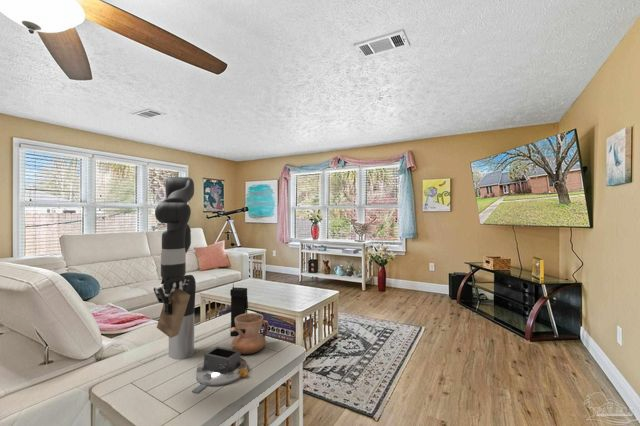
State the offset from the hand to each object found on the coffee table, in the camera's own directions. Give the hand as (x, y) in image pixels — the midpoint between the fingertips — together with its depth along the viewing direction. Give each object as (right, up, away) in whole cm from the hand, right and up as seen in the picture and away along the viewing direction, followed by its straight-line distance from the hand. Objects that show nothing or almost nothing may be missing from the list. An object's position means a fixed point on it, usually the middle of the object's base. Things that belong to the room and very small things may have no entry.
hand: (173, 312), depth 101 cm
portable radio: (+10, -26, +47) cm, 54 cm away
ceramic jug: (+19, -26, +30) cm, 44 cm away
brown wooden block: (-2, -7, +1) cm, 7 cm away
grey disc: (+13, -26, +11) cm, 31 cm away
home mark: (+9, -26, 0) cm, 27 cm away
